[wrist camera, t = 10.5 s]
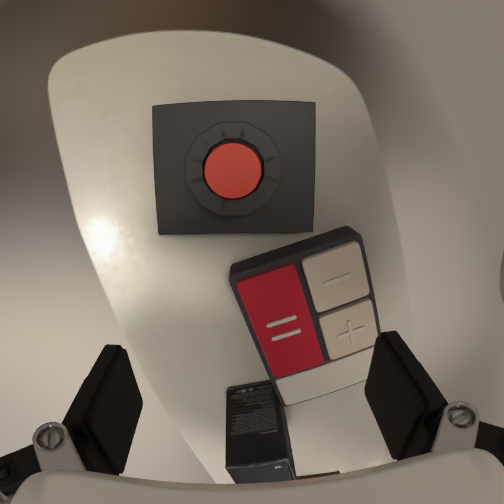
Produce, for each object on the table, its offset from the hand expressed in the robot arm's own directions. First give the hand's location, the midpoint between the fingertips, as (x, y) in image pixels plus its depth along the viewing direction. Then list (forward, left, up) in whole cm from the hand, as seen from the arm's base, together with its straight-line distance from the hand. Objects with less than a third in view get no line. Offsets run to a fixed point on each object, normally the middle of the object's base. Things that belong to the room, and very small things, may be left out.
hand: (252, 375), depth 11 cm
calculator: (-6, +8, -17) cm, 20 cm away
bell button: (+1, -6, -13) cm, 15 cm away
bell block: (+1, -6, -17) cm, 18 cm away
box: (-1, +20, -17) cm, 26 cm away
